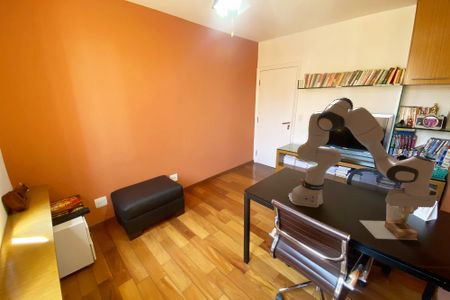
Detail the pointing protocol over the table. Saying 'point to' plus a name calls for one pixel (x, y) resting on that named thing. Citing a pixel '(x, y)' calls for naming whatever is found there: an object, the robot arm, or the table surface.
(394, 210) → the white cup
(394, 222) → the square wooden tray
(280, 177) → the table surface
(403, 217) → the wooden peg
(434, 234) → the table surface
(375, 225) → the mat
